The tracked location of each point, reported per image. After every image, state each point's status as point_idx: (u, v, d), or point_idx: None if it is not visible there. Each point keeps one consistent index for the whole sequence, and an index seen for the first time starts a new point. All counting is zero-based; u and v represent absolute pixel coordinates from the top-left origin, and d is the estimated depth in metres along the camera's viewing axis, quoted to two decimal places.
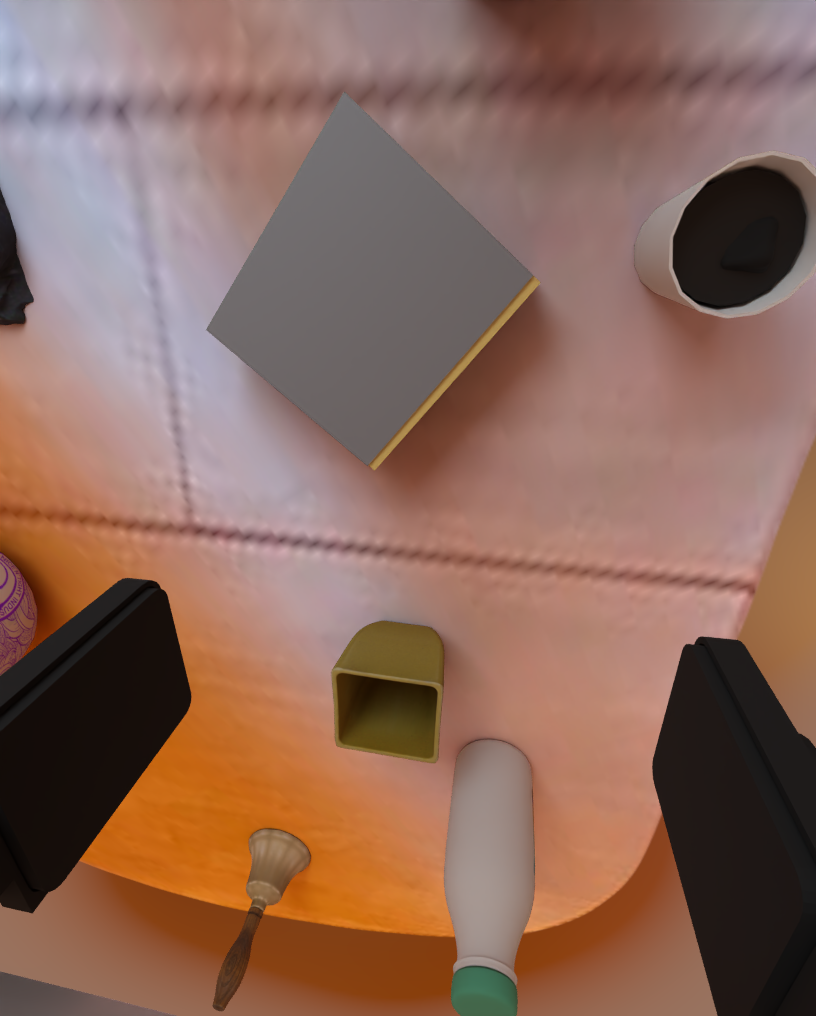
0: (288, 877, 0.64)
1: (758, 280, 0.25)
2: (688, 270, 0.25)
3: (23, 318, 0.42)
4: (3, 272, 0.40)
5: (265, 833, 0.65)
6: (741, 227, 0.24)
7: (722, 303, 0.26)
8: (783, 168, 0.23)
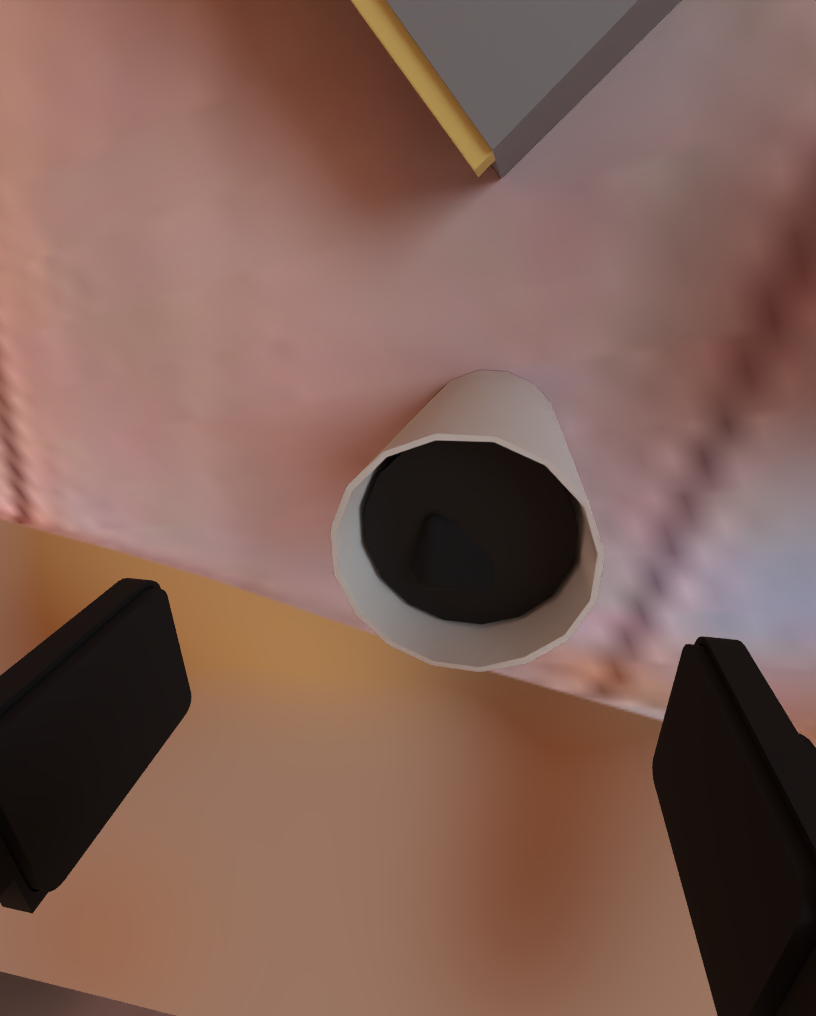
0: None
1: (397, 565, 0.15)
2: (431, 463, 0.13)
3: None
4: None
5: None
6: (485, 544, 0.14)
7: (367, 515, 0.14)
8: (560, 601, 0.14)
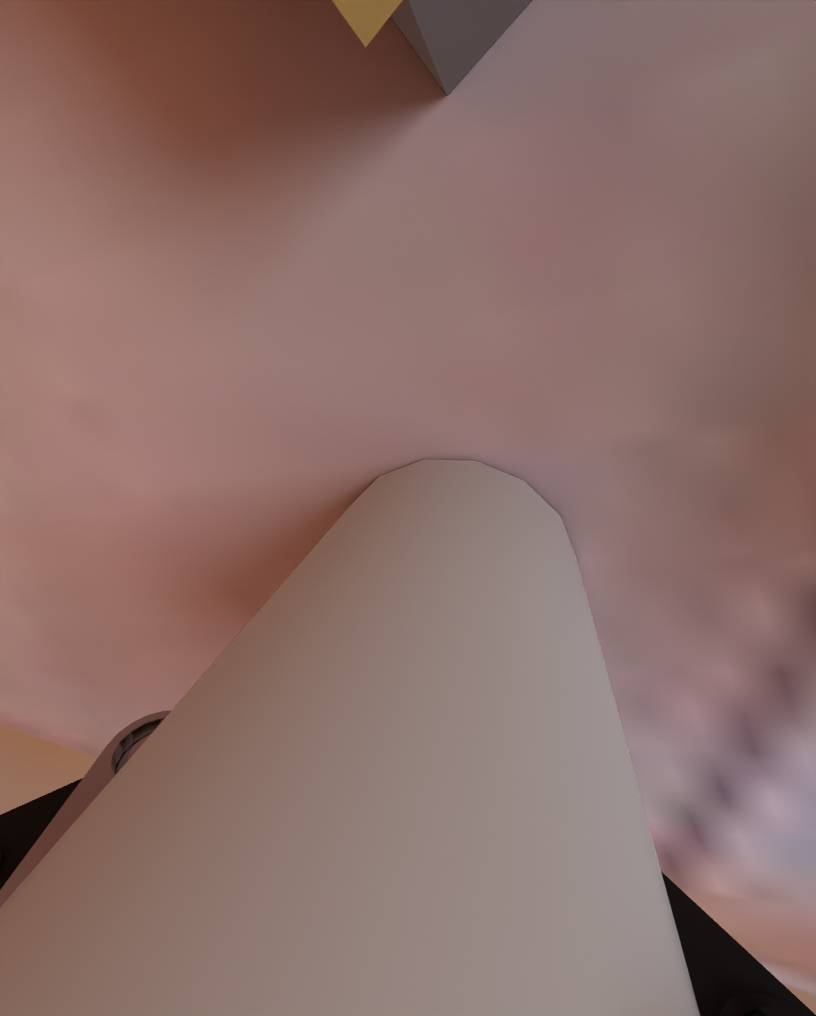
0: None
1: None
2: None
3: None
4: None
5: None
6: None
7: None
8: None
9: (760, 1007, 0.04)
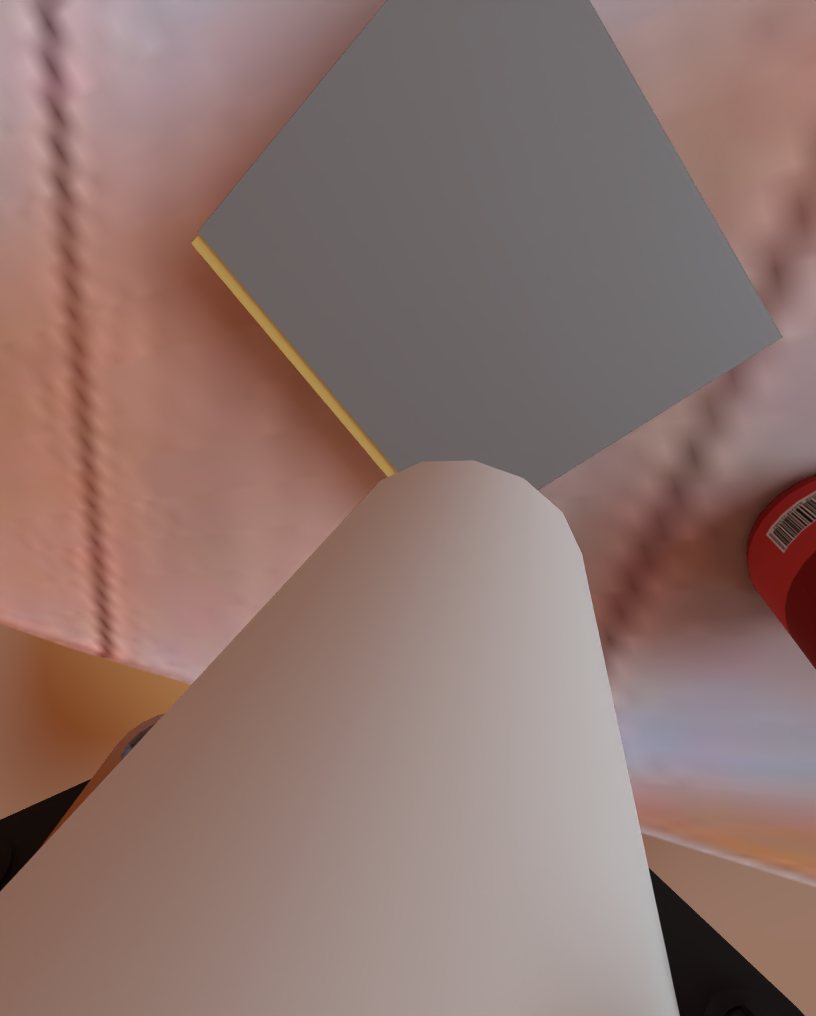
0: None
1: None
2: None
3: None
4: None
5: None
6: None
7: None
8: None
9: (744, 1003, 0.04)
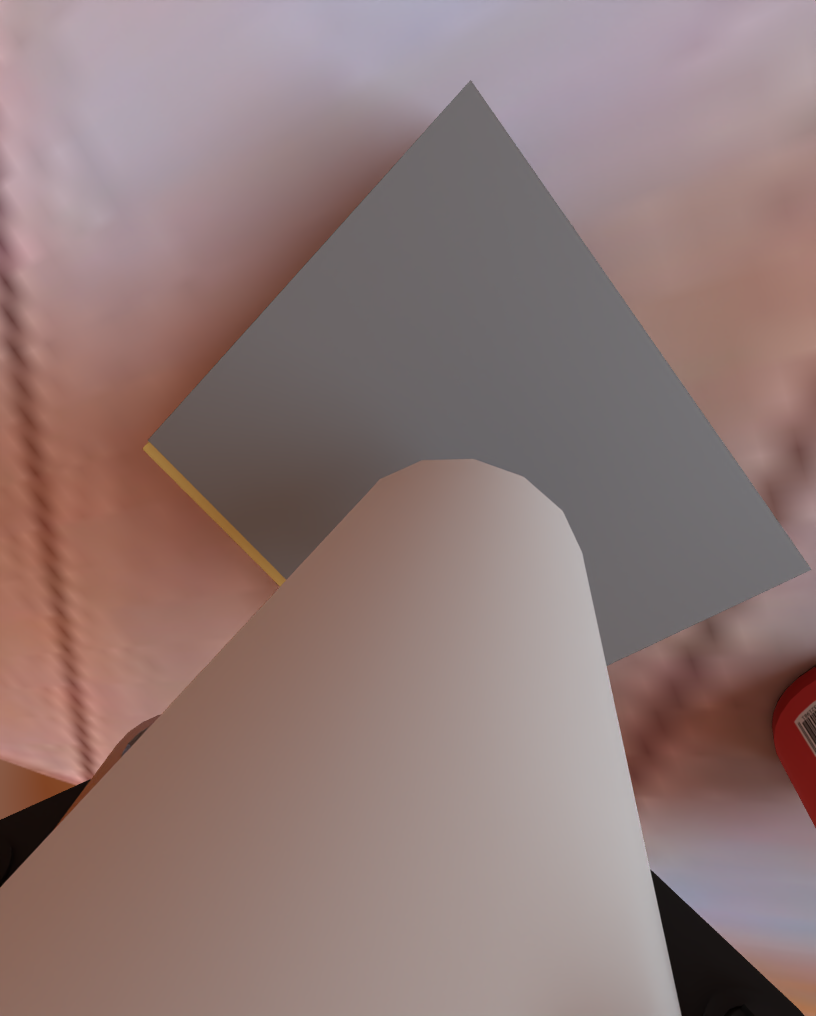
0: None
1: None
2: None
3: None
4: None
5: None
6: None
7: None
8: None
9: (745, 1003, 0.04)
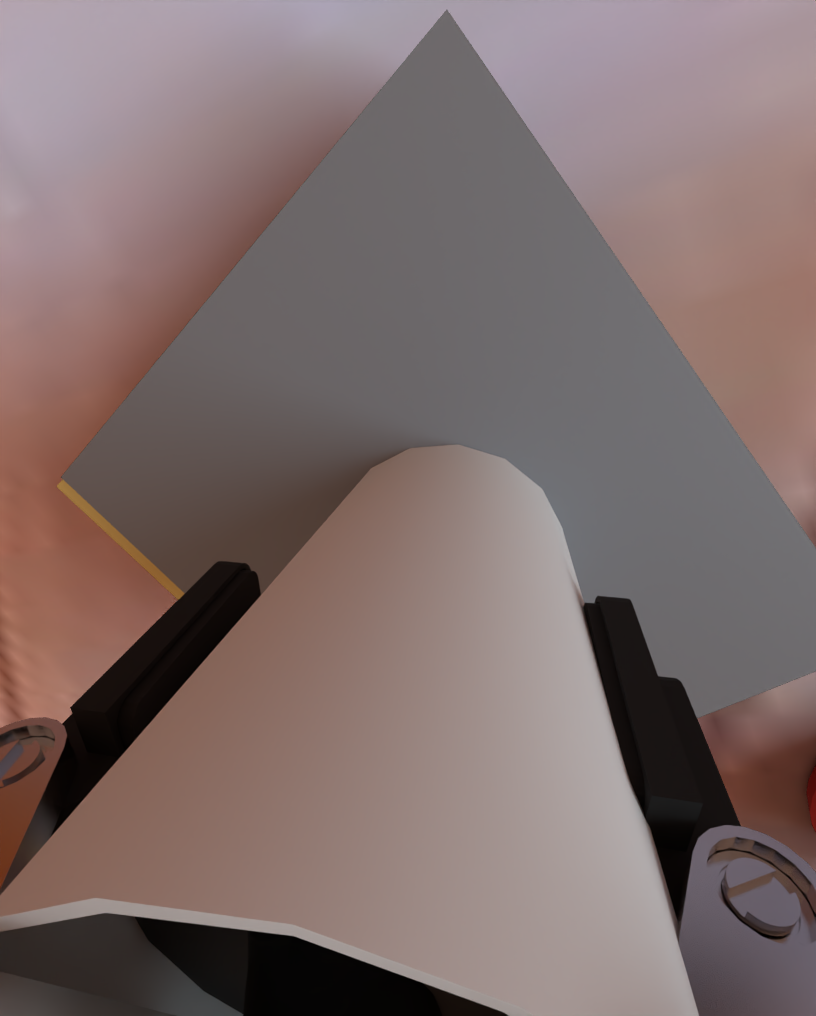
0: None
1: (226, 976, 0.06)
2: None
3: None
4: None
5: None
6: None
7: None
8: None
9: None
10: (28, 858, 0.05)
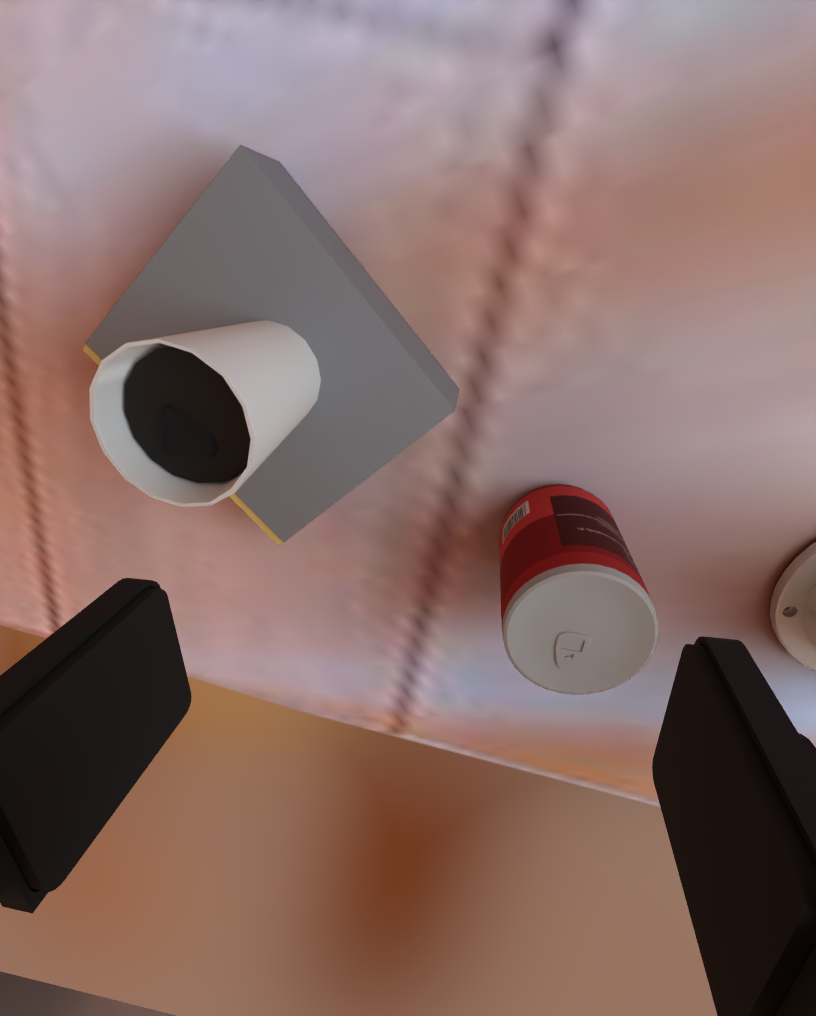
0: None
1: (157, 447, 0.22)
2: (153, 370, 0.20)
3: None
4: None
5: None
6: (203, 421, 0.21)
7: (127, 414, 0.21)
8: None
9: None
10: None
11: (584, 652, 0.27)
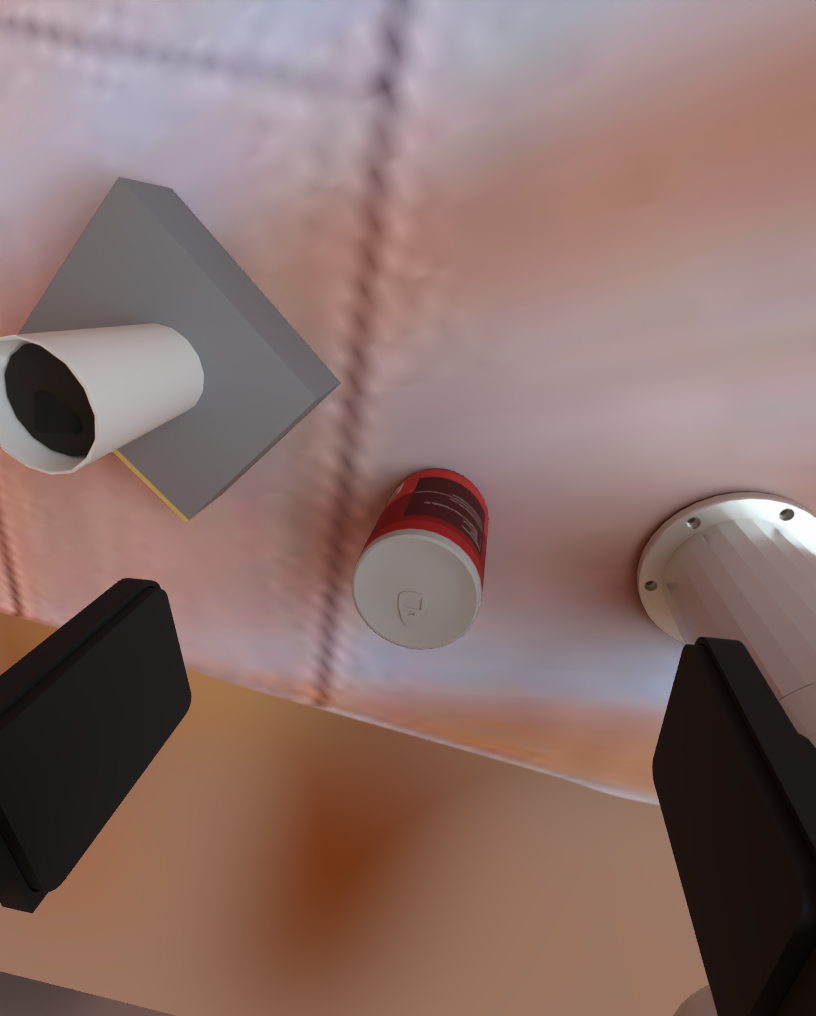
0: None
1: None
2: (24, 362, 0.25)
3: None
4: None
5: None
6: (67, 403, 0.26)
7: (9, 399, 0.26)
8: None
9: None
10: None
11: (423, 610, 0.31)
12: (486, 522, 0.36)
